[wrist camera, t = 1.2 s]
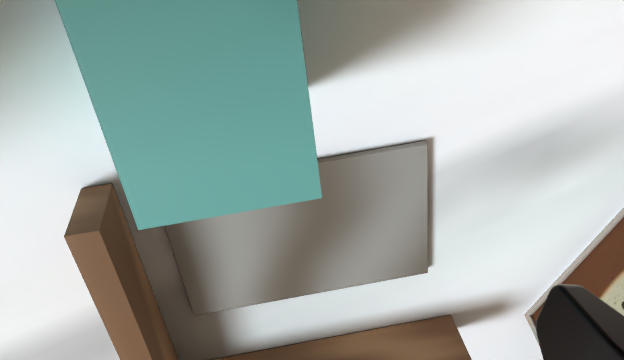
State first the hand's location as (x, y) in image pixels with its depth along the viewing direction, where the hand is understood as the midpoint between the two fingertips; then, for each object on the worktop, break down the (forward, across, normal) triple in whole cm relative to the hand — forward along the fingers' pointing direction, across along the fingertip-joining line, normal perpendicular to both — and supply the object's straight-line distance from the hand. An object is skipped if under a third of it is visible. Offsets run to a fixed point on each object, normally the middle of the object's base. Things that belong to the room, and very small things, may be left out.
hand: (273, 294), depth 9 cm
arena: (+13, -2, +11) cm, 17 cm away
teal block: (+13, +2, -1) cm, 13 cm away
